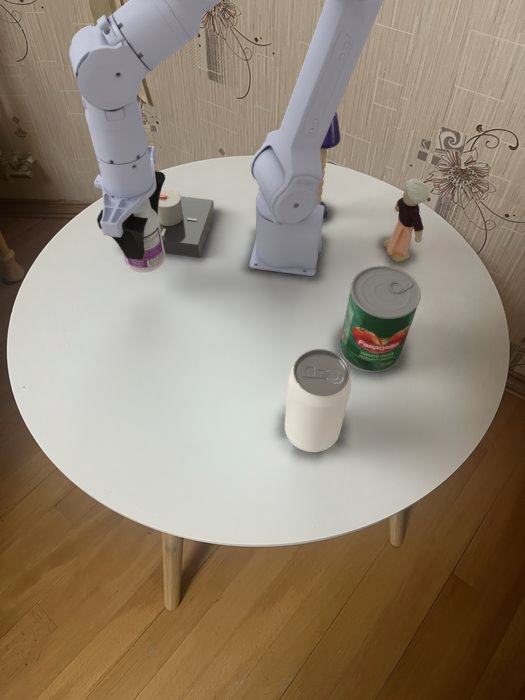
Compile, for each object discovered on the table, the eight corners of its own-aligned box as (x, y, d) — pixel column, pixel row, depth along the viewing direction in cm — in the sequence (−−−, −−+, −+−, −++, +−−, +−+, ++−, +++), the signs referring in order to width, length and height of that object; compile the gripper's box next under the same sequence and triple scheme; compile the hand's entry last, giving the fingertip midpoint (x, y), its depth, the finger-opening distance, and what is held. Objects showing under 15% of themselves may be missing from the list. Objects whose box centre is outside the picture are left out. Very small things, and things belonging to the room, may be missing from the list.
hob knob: (186, 209, 85) (183, 189, 82) (179, 227, 82) (176, 207, 79) (160, 206, 85) (156, 185, 82) (152, 224, 83) (148, 203, 80)
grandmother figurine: (372, 241, 85) (388, 169, 74) (393, 233, 86) (412, 161, 75) (402, 274, 81) (423, 204, 70) (424, 266, 82) (448, 195, 71)
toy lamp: (300, 201, 90) (308, 102, 76) (330, 202, 90) (343, 103, 76) (300, 221, 87) (308, 122, 74) (330, 222, 87) (344, 124, 74)
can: (336, 458, 64) (350, 404, 54) (279, 448, 65) (283, 392, 55) (342, 410, 68) (357, 351, 58) (289, 400, 68) (294, 340, 59)
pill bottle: (126, 246, 77) (112, 189, 69) (166, 244, 77) (155, 187, 70) (124, 275, 74) (108, 218, 66) (165, 273, 74) (154, 216, 66)
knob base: (214, 212, 88) (213, 199, 86) (199, 257, 82) (197, 244, 80) (146, 204, 89) (143, 190, 87) (126, 248, 83) (123, 234, 81)
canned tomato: (359, 381, 70) (374, 326, 61) (328, 336, 74) (338, 277, 65) (412, 359, 72) (435, 303, 63) (379, 316, 76) (396, 257, 67)
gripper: (108, 108, 67) (129, 201, 78) (62, 186, 58) (93, 277, 69) (166, 114, 66) (179, 207, 77) (128, 193, 58) (148, 284, 69)
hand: (142, 240), depth 73 cm, fingers closed on pill bottle, 5 cm apart
